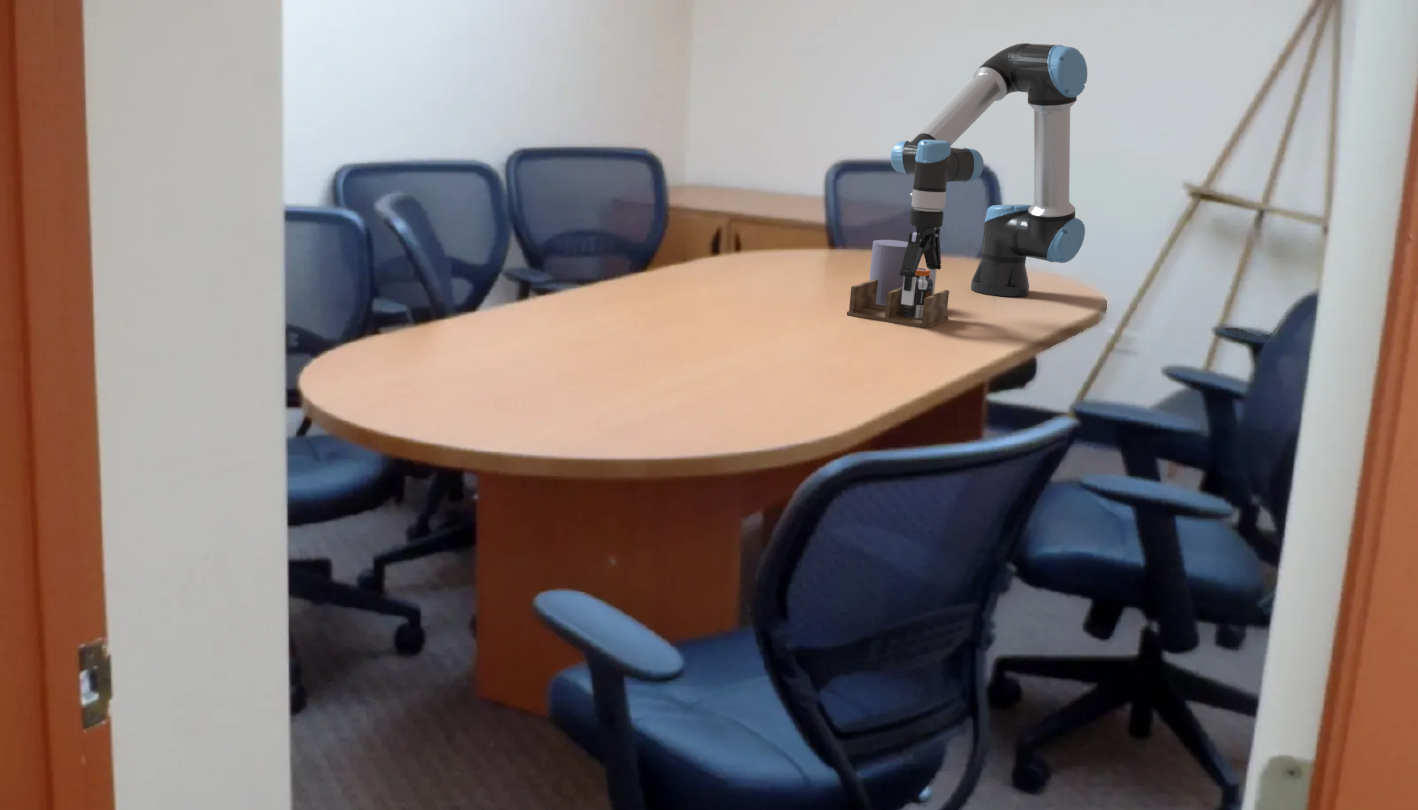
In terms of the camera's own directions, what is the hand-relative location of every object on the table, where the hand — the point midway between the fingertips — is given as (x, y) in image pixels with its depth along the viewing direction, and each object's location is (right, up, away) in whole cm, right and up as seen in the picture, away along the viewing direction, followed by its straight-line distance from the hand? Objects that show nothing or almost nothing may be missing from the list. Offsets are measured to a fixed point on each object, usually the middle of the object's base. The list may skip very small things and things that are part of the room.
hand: (917, 300), depth 315 cm
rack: (-4, -4, +3) cm, 6 cm away
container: (-4, +1, +19) cm, 19 cm away
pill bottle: (0, -4, +1) cm, 4 cm away
